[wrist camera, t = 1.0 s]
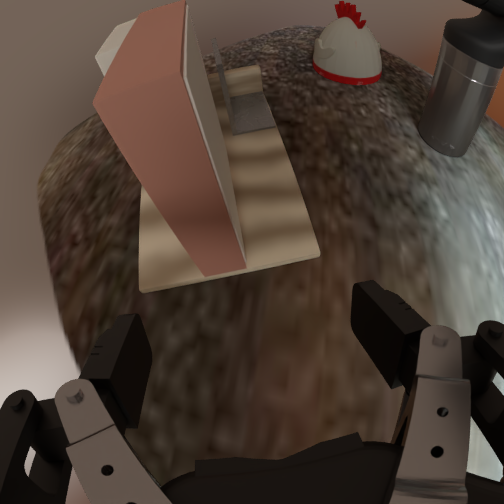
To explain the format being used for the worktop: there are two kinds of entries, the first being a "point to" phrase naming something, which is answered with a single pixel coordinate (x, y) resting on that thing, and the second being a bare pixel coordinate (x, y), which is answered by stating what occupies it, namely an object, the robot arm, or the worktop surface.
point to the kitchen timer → (348, 49)
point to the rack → (247, 201)
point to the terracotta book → (174, 135)
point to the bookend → (244, 105)
